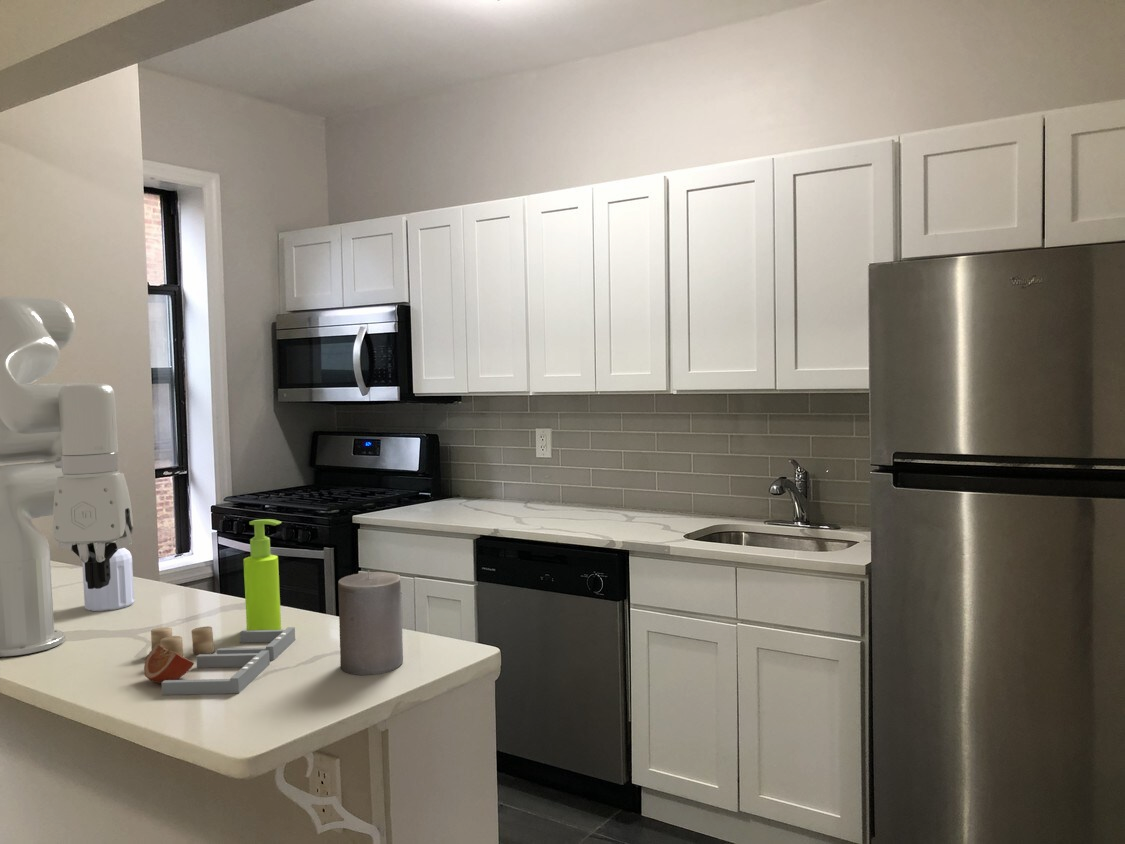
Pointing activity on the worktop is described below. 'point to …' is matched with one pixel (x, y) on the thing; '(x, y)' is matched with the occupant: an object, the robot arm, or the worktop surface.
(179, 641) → the cork
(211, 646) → the cork
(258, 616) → the soap dispenser
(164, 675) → the fruit slice
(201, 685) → the corral
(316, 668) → the worktop surface
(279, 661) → the worktop surface
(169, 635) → the cork
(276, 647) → the corral
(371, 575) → the pillar candle
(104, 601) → the soap bottle
